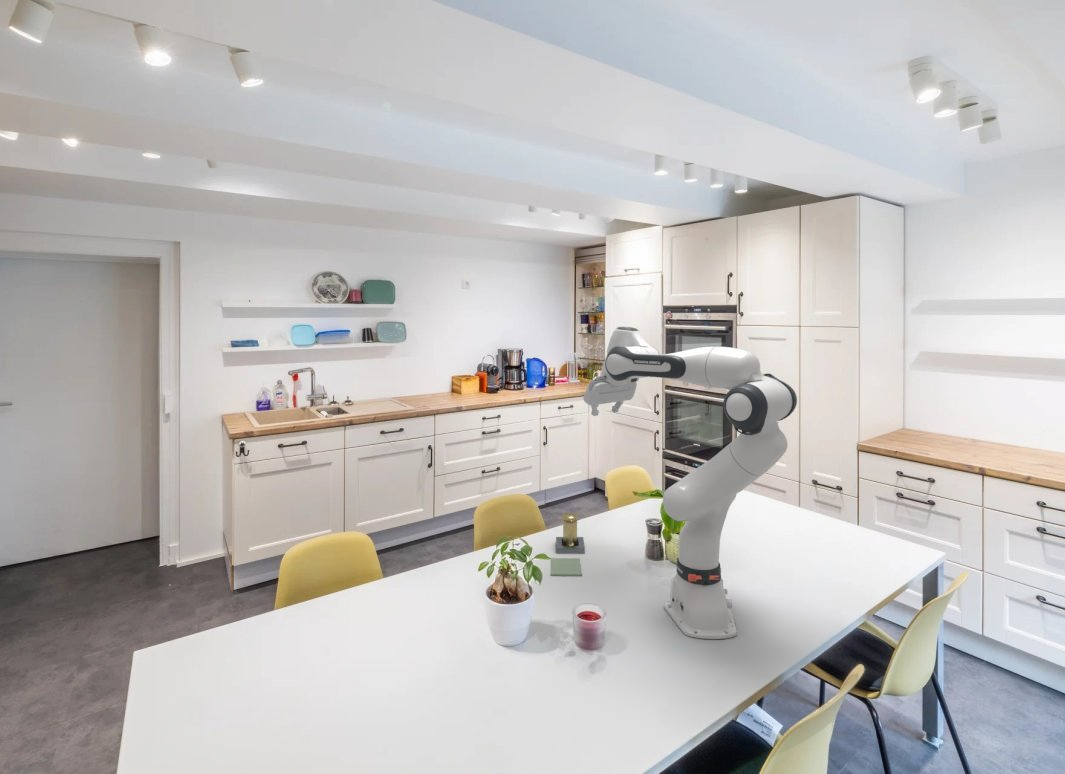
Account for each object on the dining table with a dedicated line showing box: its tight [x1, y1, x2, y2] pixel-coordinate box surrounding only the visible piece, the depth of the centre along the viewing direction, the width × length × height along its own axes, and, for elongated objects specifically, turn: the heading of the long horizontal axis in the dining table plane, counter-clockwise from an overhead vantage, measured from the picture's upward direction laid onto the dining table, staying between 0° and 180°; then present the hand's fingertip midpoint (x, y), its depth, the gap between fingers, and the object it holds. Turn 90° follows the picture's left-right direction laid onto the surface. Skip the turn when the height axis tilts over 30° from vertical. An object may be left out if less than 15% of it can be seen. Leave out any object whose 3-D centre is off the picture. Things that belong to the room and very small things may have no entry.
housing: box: [555, 536, 586, 555], centre depth 197 cm, size 10×10×2 cm
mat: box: [550, 557, 583, 577], centre depth 183 cm, size 12×10×1 cm
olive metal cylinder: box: [561, 511, 579, 546], centre depth 197 cm, size 6×6×12 cm
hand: (604, 413), depth 179 cm, fingers open, 8 cm apart
